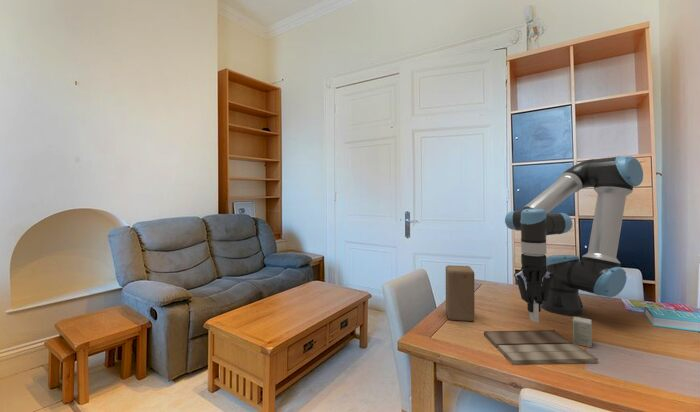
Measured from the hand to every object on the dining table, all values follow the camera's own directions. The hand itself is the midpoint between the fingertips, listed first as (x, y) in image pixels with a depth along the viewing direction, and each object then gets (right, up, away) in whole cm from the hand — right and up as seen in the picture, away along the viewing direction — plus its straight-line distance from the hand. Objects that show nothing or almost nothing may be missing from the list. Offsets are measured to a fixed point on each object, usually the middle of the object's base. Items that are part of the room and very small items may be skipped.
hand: (534, 320), depth 108 cm
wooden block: (-20, -5, +18) cm, 27 cm away
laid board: (-4, -6, -13) cm, 15 cm away
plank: (-4, -6, -3) cm, 8 cm away
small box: (+13, -6, -5) cm, 15 cm away
